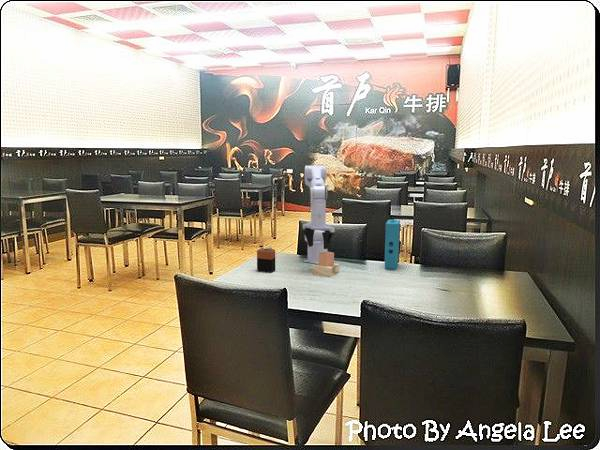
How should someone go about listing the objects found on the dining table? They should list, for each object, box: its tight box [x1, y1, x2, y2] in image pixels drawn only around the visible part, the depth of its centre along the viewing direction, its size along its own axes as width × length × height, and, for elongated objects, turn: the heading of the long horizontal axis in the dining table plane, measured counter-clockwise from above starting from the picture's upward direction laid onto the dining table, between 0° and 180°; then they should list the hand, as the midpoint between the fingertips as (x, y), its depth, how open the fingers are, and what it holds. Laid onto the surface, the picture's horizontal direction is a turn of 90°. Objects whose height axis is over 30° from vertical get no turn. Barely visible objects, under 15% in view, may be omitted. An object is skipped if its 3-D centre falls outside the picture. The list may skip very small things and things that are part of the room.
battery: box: [256, 246, 276, 273], centre depth 186 cm, size 4×7×10 cm, turn 68°
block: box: [384, 219, 401, 271], centre depth 192 cm, size 12×5×20 cm, turn 163°
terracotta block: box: [319, 251, 335, 267], centre depth 182 cm, size 4×4×5 cm
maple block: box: [312, 262, 340, 278], centre depth 183 cm, size 8×8×4 cm
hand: (318, 247), depth 184 cm, fingers open, 7 cm apart
